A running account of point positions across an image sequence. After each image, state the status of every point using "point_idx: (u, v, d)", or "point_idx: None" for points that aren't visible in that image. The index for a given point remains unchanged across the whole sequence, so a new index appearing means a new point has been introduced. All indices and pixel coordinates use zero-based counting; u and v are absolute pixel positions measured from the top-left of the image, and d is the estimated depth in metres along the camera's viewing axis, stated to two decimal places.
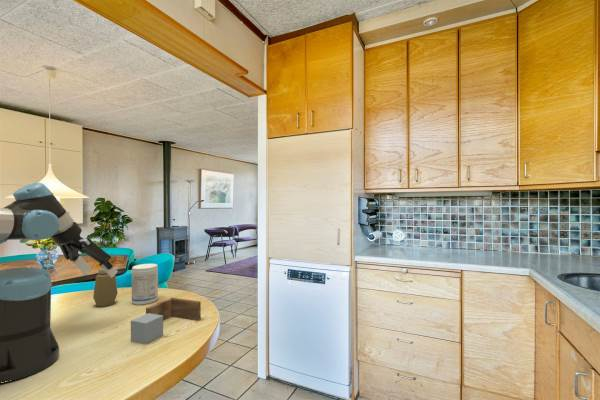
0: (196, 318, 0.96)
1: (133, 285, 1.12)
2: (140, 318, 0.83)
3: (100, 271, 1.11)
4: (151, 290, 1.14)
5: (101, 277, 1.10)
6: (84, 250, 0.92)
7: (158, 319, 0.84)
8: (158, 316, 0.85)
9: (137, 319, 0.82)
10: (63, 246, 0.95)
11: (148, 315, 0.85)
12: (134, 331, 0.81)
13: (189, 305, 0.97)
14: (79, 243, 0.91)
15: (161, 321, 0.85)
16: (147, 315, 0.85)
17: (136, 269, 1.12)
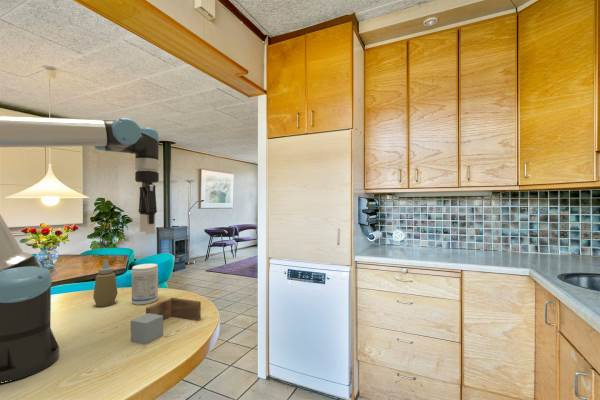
0: (196, 318, 0.96)
1: (133, 285, 1.12)
2: (140, 318, 0.83)
3: (100, 271, 1.11)
4: (151, 290, 1.14)
5: (101, 277, 1.10)
6: (146, 196, 0.98)
7: (158, 319, 0.84)
8: (158, 316, 0.85)
9: (137, 319, 0.82)
10: None
11: (148, 315, 0.85)
12: (134, 331, 0.81)
13: (189, 305, 0.97)
14: (147, 187, 0.98)
15: (161, 321, 0.85)
16: (147, 315, 0.85)
17: (136, 269, 1.12)
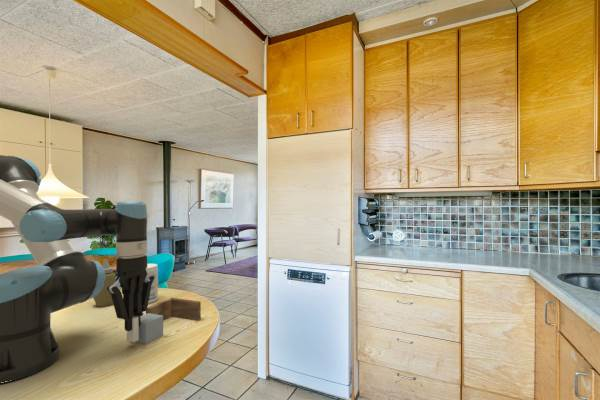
0: (196, 318, 0.96)
1: None
2: (140, 318, 0.83)
3: None
4: (151, 289, 1.14)
5: None
6: (123, 293, 0.77)
7: (158, 319, 0.84)
8: (158, 316, 0.85)
9: None
10: (143, 284, 0.83)
11: (148, 315, 0.85)
12: None
13: (189, 305, 0.97)
14: None
15: (161, 321, 0.85)
16: (147, 315, 0.85)
17: None
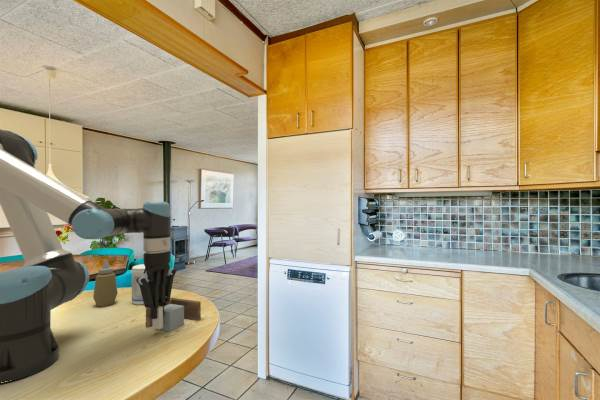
0: (196, 318, 0.96)
1: (133, 285, 1.12)
2: None
3: (100, 271, 1.11)
4: None
5: (101, 277, 1.10)
6: (149, 284, 0.85)
7: (180, 309, 0.92)
8: (179, 306, 0.93)
9: None
10: (166, 277, 0.91)
11: (170, 305, 0.93)
12: None
13: (189, 305, 0.97)
14: None
15: (182, 311, 0.93)
16: (169, 305, 0.93)
17: (136, 269, 1.12)
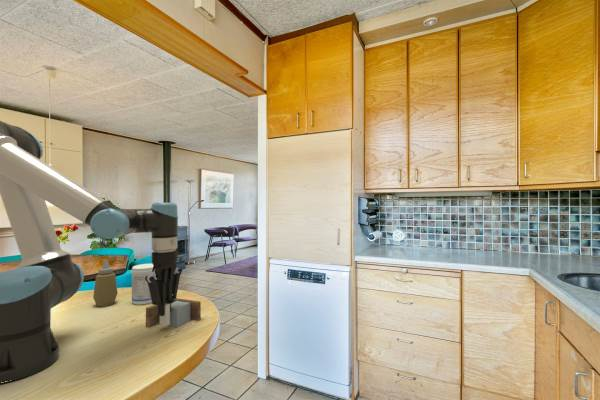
0: (196, 318, 0.96)
1: (133, 285, 1.12)
2: None
3: (100, 271, 1.11)
4: None
5: (101, 277, 1.10)
6: (157, 282, 0.88)
7: (186, 306, 0.95)
8: (186, 303, 0.96)
9: None
10: (172, 276, 0.94)
11: (177, 302, 0.96)
12: None
13: None
14: None
15: (189, 307, 0.96)
16: (176, 302, 0.96)
17: (136, 269, 1.12)
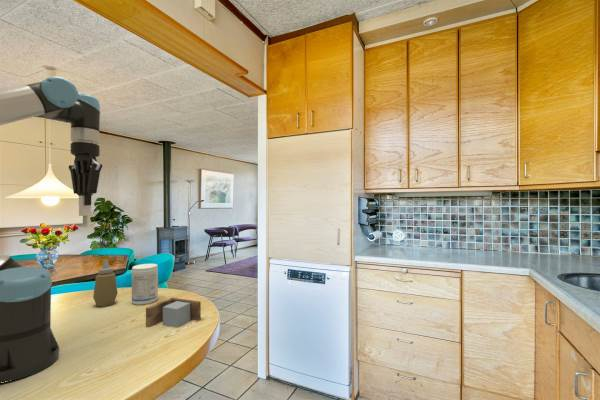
0: (196, 318, 0.96)
1: (133, 285, 1.12)
2: (170, 305, 0.94)
3: (100, 271, 1.11)
4: (151, 290, 1.14)
5: (101, 277, 1.10)
6: (85, 173, 0.90)
7: (186, 306, 0.95)
8: (186, 303, 0.96)
9: (168, 306, 0.93)
10: (74, 171, 0.92)
11: (177, 302, 0.96)
12: (165, 316, 0.92)
13: None
14: (90, 162, 0.89)
15: (189, 308, 0.96)
16: (176, 302, 0.96)
17: (136, 269, 1.12)
